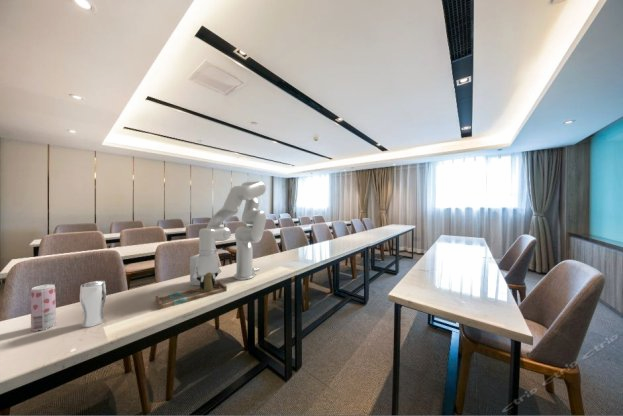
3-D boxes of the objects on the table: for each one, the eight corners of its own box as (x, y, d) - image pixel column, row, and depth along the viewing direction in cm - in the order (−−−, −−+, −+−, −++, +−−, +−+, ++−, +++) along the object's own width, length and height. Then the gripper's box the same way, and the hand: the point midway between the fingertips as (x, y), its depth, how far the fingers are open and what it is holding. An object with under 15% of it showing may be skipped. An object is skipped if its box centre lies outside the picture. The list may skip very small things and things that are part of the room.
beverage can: (53, 321, 82) (53, 282, 82) (57, 325, 79) (57, 285, 79) (29, 328, 77) (28, 287, 77) (32, 333, 74) (32, 291, 74)
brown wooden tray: (218, 285, 120) (219, 281, 120) (226, 291, 112) (226, 286, 112) (155, 301, 100) (155, 296, 100) (159, 309, 92) (159, 303, 92)
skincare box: (200, 285, 119) (200, 257, 119) (188, 285, 119) (188, 257, 119) (208, 280, 128) (208, 254, 127) (197, 279, 128) (197, 253, 127)
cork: (198, 291, 111) (198, 270, 110) (210, 288, 115) (210, 268, 115) (203, 295, 106) (203, 273, 106) (215, 291, 111) (215, 270, 111)
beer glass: (83, 330, 77) (82, 288, 76) (77, 324, 80) (77, 284, 80) (109, 321, 83) (108, 282, 82) (102, 316, 86) (102, 279, 86)
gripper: (221, 248, 119) (221, 281, 119) (187, 253, 107) (187, 289, 108) (226, 251, 113) (226, 285, 114) (191, 256, 102) (191, 294, 102)
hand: (207, 287), depth 111 cm, fingers closed on cork, 4 cm apart
